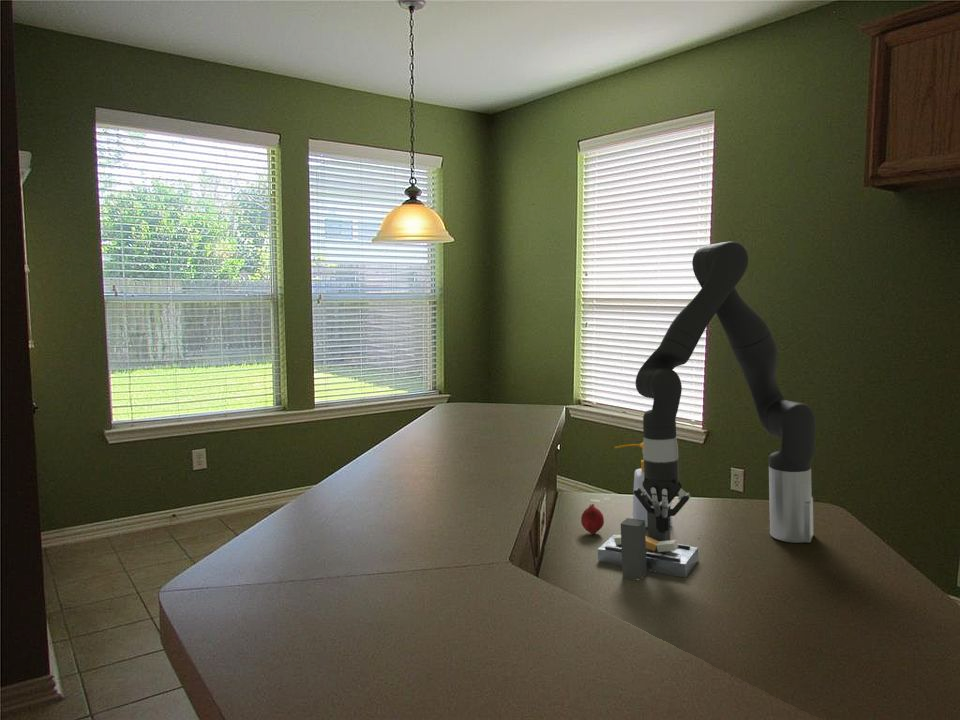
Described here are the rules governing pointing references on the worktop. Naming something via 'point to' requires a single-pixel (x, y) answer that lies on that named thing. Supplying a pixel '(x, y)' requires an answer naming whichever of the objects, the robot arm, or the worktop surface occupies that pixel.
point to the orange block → (651, 543)
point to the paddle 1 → (618, 540)
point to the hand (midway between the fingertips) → (663, 531)
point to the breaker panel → (654, 558)
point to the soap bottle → (638, 508)
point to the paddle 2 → (667, 545)
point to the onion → (592, 519)
